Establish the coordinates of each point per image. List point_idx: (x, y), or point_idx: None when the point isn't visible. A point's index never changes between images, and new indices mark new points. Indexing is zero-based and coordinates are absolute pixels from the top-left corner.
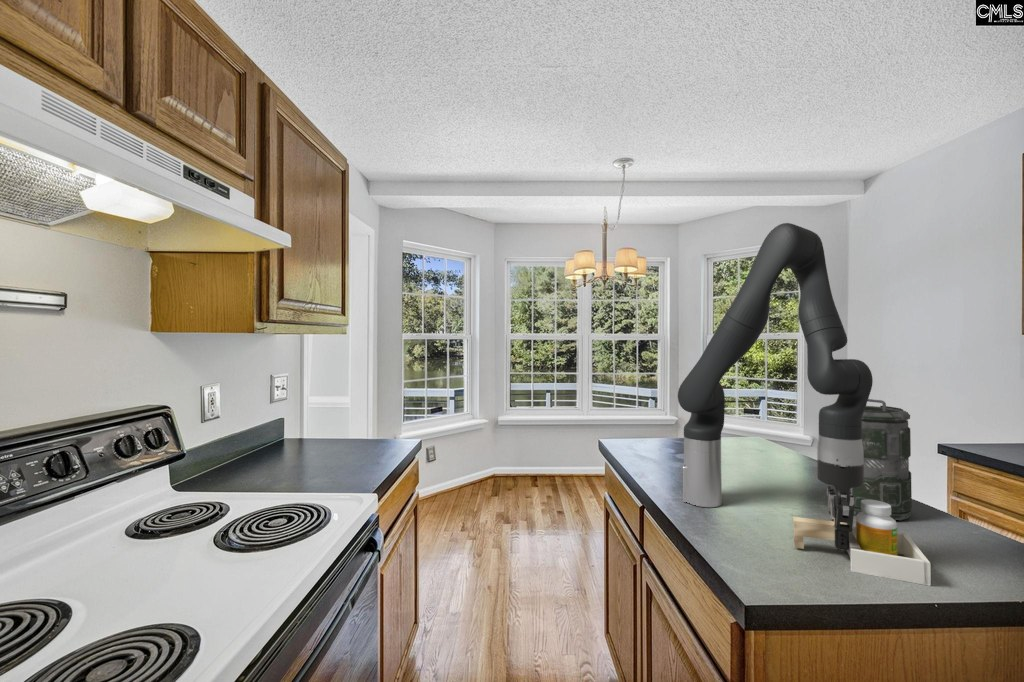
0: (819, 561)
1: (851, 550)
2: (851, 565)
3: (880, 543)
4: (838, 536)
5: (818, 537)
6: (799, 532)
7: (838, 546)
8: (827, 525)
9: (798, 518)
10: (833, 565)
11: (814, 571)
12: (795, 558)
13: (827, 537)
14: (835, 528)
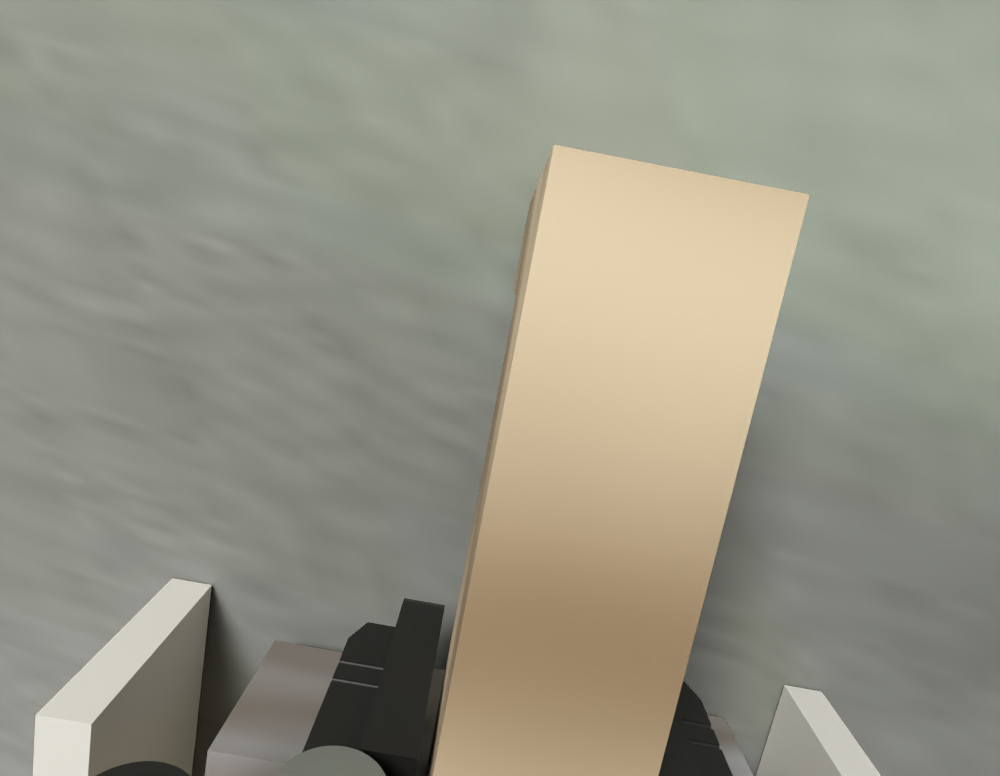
0: (302, 370)
1: (43, 711)
2: (144, 607)
3: None
4: (322, 712)
5: (482, 477)
6: (526, 249)
7: (362, 627)
8: (449, 693)
9: (709, 282)
10: (253, 469)
11: (41, 250)
12: (294, 143)
13: (462, 581)
14: (288, 768)
